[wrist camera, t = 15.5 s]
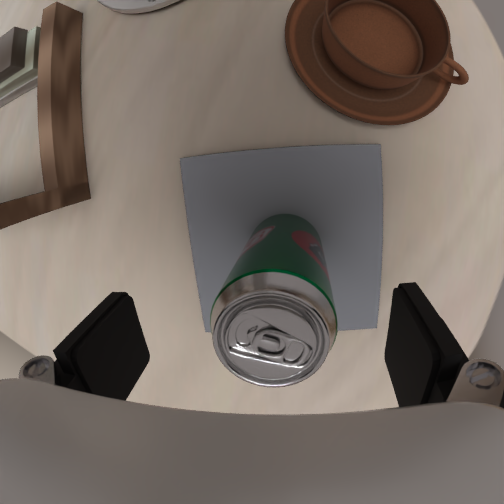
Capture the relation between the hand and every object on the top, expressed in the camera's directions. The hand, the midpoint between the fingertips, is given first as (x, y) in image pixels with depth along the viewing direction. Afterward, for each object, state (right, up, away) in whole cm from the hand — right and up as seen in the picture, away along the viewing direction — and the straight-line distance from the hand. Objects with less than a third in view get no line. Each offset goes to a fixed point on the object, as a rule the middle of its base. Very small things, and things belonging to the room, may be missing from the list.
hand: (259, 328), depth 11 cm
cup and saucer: (+8, +17, +7) cm, 20 cm away
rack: (-24, +15, +12) cm, 31 cm away
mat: (+2, +3, +12) cm, 13 cm away
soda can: (+2, +3, +12) cm, 12 cm away
